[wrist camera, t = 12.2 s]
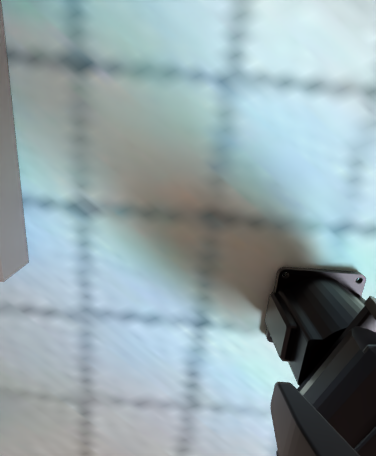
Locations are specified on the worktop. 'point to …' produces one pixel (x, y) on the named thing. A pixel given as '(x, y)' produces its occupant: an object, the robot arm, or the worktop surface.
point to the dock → (9, 179)
